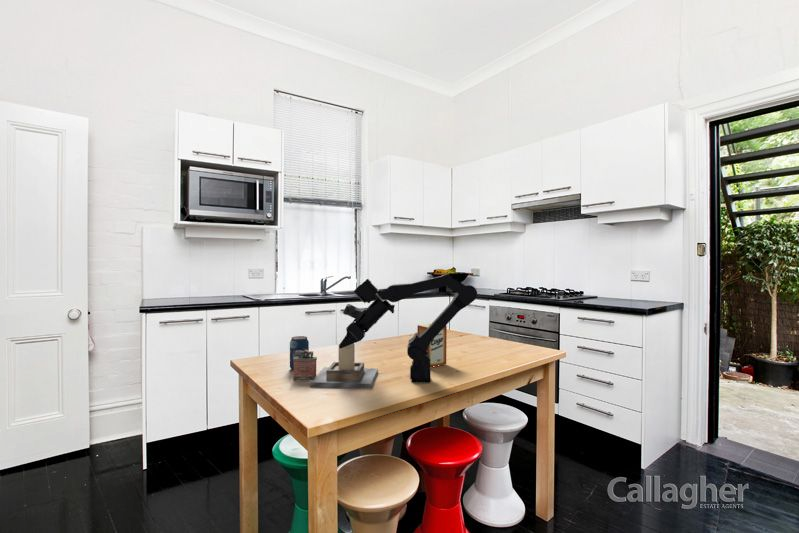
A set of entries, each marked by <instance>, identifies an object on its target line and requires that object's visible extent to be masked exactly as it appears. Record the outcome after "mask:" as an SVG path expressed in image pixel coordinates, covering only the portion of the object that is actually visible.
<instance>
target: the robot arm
mask: <svg viewBox="0 0 799 533" xmlns="http://www.w3.org/2000/svg"><path fill="white" fill-rule="evenodd" d="M443 287H444V288H445V287H447V288H448V289H449V290H452V291H454V292H455V294H454V296H453V298H452V300H451V302H450V303H448V305H447V306H446V307H445V308H444V309H443V310H442V312H441V313H440V314H439V315H438V316H437V317H436V318H435V319H434V320H433V321H432V322H431V323H430V324H431V325H430V326H429V327H428V328H427V329H426V330H425V331H424V332H423V333H421V334H420V335H418V333H417V332H415V333H414V334H413V336H412V337H411V338H409V340H408V344H407V346H406V347H407V349H406V351H407V356H408V357H409V359H410V360H412V361H411V365H410V368H409V372H410V373H409V374H410V375H409V376H410V377H409V378H410V380H411V383H417V384H418V383H420V384H421V383H423V384H425V383H426V384H429V383H431V382H432V380H431V379H432V378H431V368H430V356H429V353H428V352H427V349H428V347H429V345H430V343H431V342H432V340H433V339H434V338H435V337H436V336H437V335H438V334H439V332H440V331H441V330H442V329H443V328H444V327H445V326H446V325H447V326H448V324H449V323H450V322H451V321H452V319H453V318H455V316H457V314H458V313H459V312H460V311H461V310H463V309H465V308H466V307H467V306H469V305H471V304H472V303H473V302H474V301H475V300H476V299H477V298H478V291H477V289H476V287H474V286H473V285H471V284H466V283H465V284H464V283H462V282H460V281H459V280H456V279H455V278H454V277H453V276H452V275H450V274H445V273H444V274H442V275H441V276H435V277H432V278H428V279H423V280H419V281H416V282H411V283H397V284H396V283H395V284H391V285H388V287H387V288H380V289H378V288H377V287H376V286H375V285H374V284H373V283H372V281H371V280H370V279H369V278H367V279H365V280H364V281H363V282H362V283H361V284H359V285H358V286H357V287H356V288H355V289H354V290H353V291H352V292H353V293H354V295H356V297H357V298H358V299H360V300H361V302H363V304H366V303H368V304H370V303H371V304H370V305H369V306H368V307H367V308H364V309H363V310H362V309H360V308H359V307H357V306H354V305H353V304H350V303H347V304H346V305H345V308H344V310H343V315H344V316H348V317H351V318H353V319H354V320H353V321H351V323H350V324H348V325H347V327H346V328H345V329H346V334H345V336H344V338H343V339H342V340H341V341H342V342H341V341H340V342H341V343H340V342H339V344H340V345H339V344H338V348H339V347H340V348H343V347H346V346H348V345H351V344H353V343H354V344H356V343H359V342H361V341H362V340H363V339H364V338H365V336H366V333H367V332H369V331H370V329H371V328H372V327H374V325H376V324H377V323H378V321H380V319H381V318H382V317H383V316H384V315H385V314H386V313H387V312H388V311H389V312H390V313H391V314H395V306H396V305H395V304H391V303H397V302H400V301H401V300H404V299H406V298H409V297H410V296H412V295H415V294H419V293H423V292H427V291H432V290H436V289H440V288H443ZM375 298H376V299H375ZM383 298H385V299H383ZM374 299H375V300H374ZM373 300H374V301H373Z"/></svg>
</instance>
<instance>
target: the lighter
mask: <svg viewBox="0 0 799 533" xmlns="http://www.w3.org/2000/svg"><path fill="white" fill-rule="evenodd" d="M295 355H299V357H294V358H293V361H294V371H293V377H292V380H293V381H296V380H311V381H312V380H313V378H314V377H315V376H316V375H317V360H318V358H317V357H316V356H314V351H312V350H309V351H308V350H305V351H296V352H295ZM301 355H303V356H302V357H301Z"/></svg>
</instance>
